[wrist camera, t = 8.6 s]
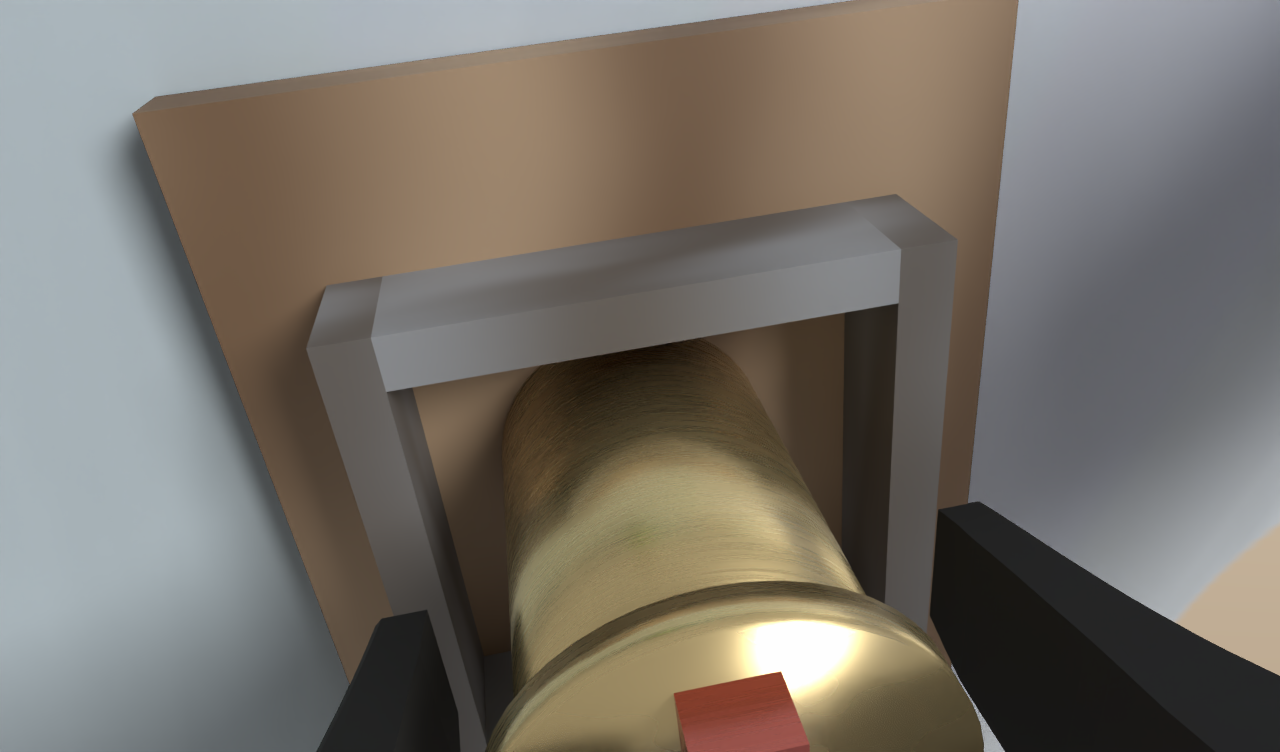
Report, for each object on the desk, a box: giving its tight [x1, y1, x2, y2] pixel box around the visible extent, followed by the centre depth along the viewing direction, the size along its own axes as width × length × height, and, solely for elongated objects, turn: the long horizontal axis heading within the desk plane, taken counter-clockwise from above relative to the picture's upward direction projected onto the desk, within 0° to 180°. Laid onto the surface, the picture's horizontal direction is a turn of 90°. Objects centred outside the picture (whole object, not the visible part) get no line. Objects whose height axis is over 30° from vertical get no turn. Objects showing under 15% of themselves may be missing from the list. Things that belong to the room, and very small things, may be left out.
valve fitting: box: [485, 338, 984, 752], centre depth 12 cm, size 5×5×8 cm
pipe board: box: [133, 0, 1018, 752], centre depth 16 cm, size 12×16×3 cm
